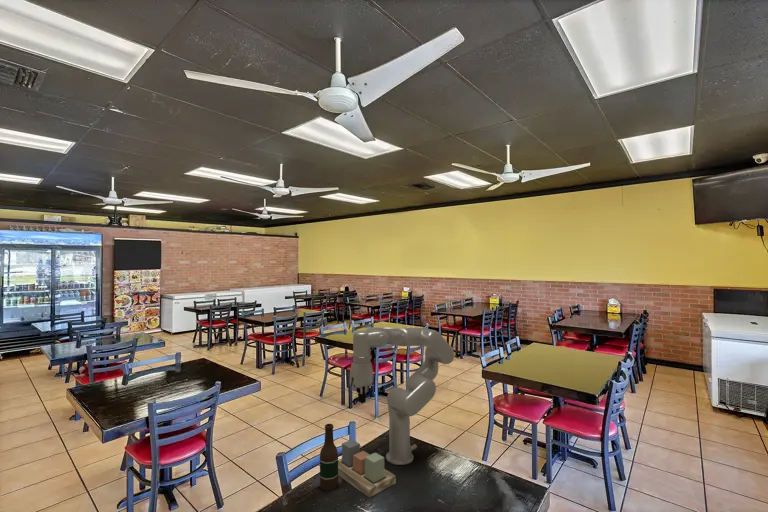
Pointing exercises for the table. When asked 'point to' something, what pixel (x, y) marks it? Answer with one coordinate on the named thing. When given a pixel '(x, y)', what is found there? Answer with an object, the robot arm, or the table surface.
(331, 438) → the beer bottle
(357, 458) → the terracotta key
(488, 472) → the table surface
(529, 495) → the table surface
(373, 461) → the sage key
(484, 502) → the table surface
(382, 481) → the birch board
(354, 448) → the slate key
